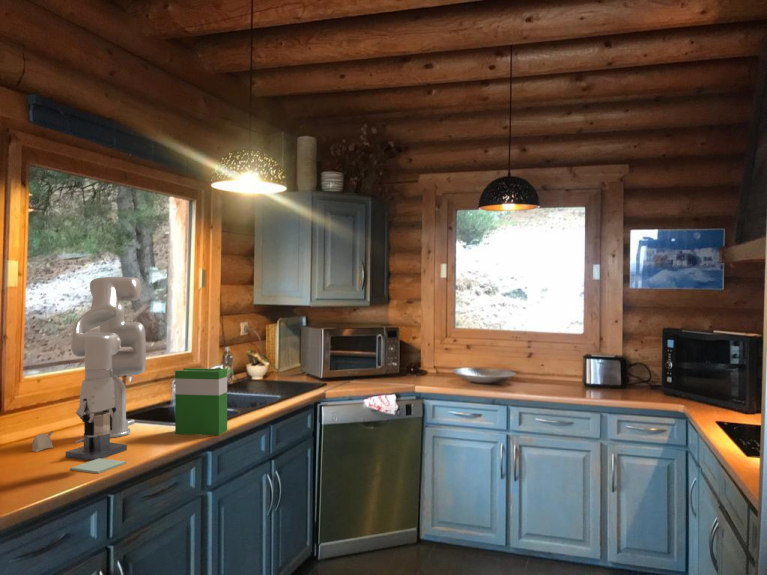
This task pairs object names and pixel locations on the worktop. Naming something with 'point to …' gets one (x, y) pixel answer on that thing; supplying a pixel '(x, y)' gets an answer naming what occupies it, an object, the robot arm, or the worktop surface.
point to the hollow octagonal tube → (101, 423)
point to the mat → (98, 465)
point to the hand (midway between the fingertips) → (98, 432)
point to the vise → (95, 448)
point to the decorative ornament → (42, 442)
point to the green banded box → (201, 401)
